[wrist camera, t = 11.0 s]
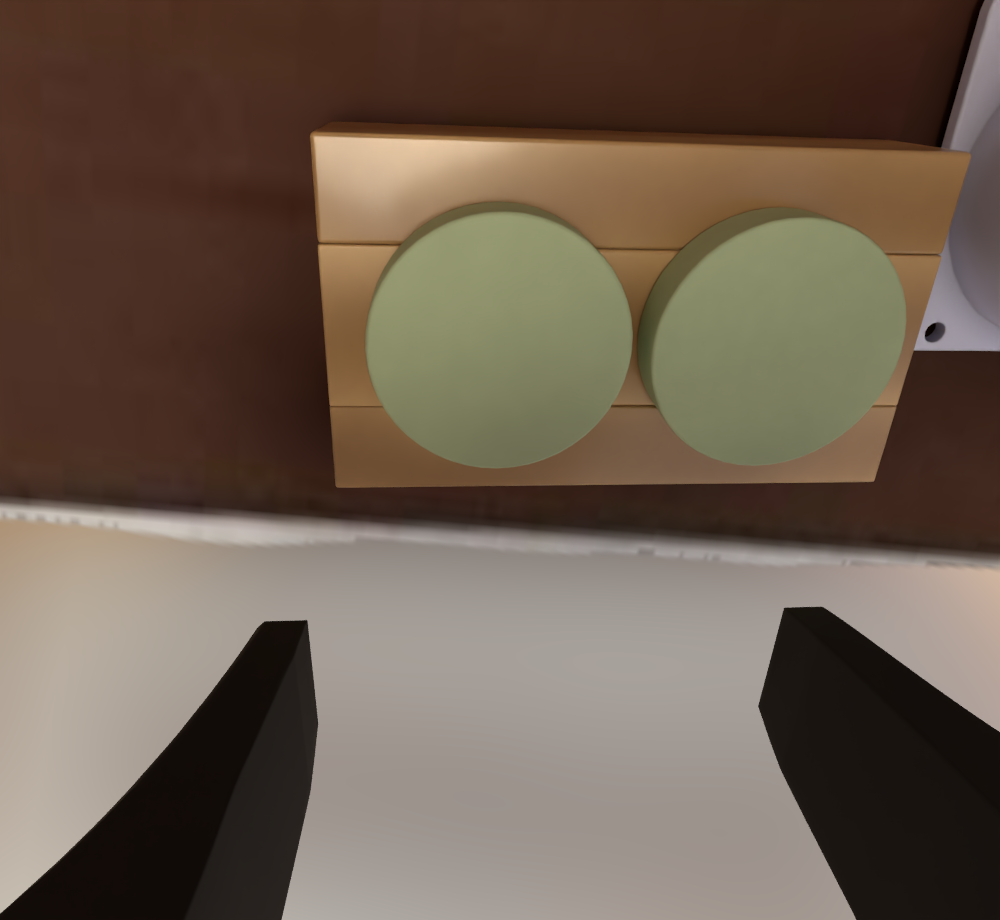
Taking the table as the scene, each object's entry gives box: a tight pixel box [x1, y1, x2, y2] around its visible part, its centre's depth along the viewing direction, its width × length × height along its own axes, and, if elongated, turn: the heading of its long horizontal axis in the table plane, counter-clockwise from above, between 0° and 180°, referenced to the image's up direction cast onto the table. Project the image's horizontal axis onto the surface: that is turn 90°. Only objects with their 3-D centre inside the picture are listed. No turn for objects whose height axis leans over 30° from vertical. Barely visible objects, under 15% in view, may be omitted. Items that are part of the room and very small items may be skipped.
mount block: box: [310, 121, 971, 488], centre depth 17 cm, size 7×13×3 cm, turn 88°
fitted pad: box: [637, 207, 906, 466], centre depth 17 cm, size 5×5×4 cm
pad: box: [365, 202, 633, 468], centre depth 16 cm, size 5×5×4 cm
